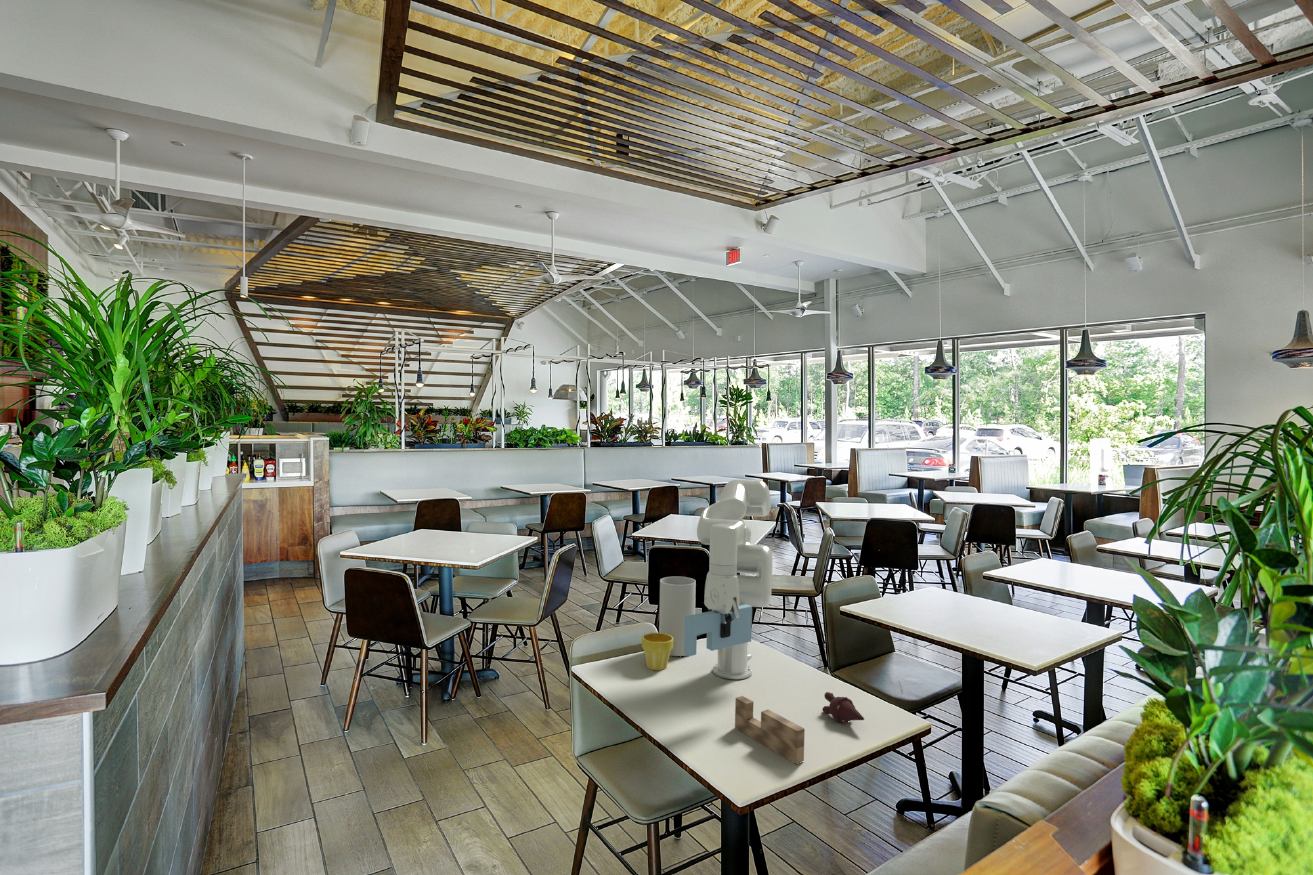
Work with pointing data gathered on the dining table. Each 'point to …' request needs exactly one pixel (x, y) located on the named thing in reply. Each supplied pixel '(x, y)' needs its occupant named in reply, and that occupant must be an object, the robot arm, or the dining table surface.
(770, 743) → the walnut board
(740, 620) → the slotted plate
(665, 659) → the plant pot
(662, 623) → the cylinder vase
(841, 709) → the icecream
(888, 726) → the dining table surface
